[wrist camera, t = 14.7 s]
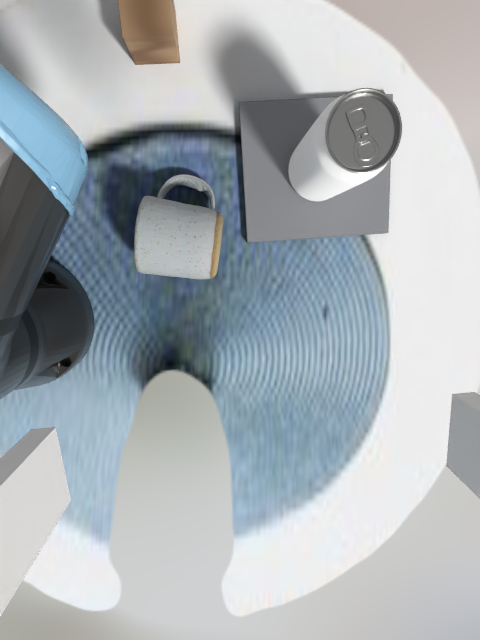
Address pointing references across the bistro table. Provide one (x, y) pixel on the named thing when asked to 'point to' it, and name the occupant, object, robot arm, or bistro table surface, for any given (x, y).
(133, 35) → the walnut block
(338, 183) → the can
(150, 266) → the ceramic mug
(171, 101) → the bistro table surface
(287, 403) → the bistro table surface
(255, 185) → the mat
